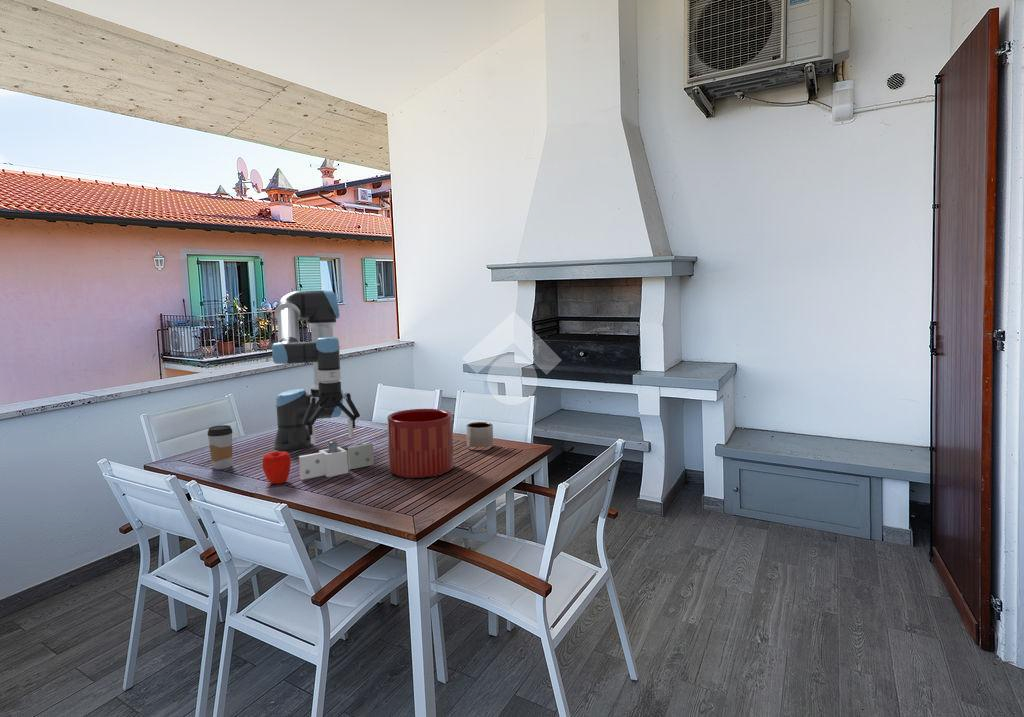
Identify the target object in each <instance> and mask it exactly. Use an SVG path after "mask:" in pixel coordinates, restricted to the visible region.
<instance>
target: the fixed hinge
mask: <svg viewBox="0 0 1024 717" xmlns="http://www.w3.org/2000/svg"><path fill="white" fill-rule="evenodd" d="M298 463H299V464H298V466H299V479H300V480H301V481H302V480H307V479H313V478H318V477H323V476H325V477H327V478H331V477H336V476H341V475H345V474H348V473H349V467H348V450H345V449H344V448H342V447H341V446H337V452H334V453H329V451H328V448H324V449H321V450H320V449H319V450H318V452H315V453H309V454H304V455H299V456H298Z"/></svg>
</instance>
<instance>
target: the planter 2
mask: <svg viewBox="0 0 1024 717" xmlns="http://www.w3.org/2000/svg"><path fill="white" fill-rule="evenodd" d="M492 444H493V445H494V426H493V423H490V422H486V421H485V422H484V421H477V422H476V421H475V422H470V423H467V424H466V447H467V446H469V447H476V448H477V447H487V446H490V445H492Z"/></svg>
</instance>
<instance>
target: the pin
mask: <svg viewBox="0 0 1024 717" xmlns="http://www.w3.org/2000/svg"><path fill="white" fill-rule="evenodd" d="M327 447H328V448H327V449H328V451H329V453H334V452H337V447H338V441H335V440H334V441H333V440H332V441H328V444H327Z"/></svg>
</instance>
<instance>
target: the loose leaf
mask: <svg viewBox="0 0 1024 717" xmlns="http://www.w3.org/2000/svg"><path fill="white" fill-rule="evenodd" d="M374 460H375V459H374V443H372V442H369V443H362V444H356V445H352V446H347V462H348V470H353V469H360V468H365V467H369V466H374V465H375V463H374V462H375V461H374Z"/></svg>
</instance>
